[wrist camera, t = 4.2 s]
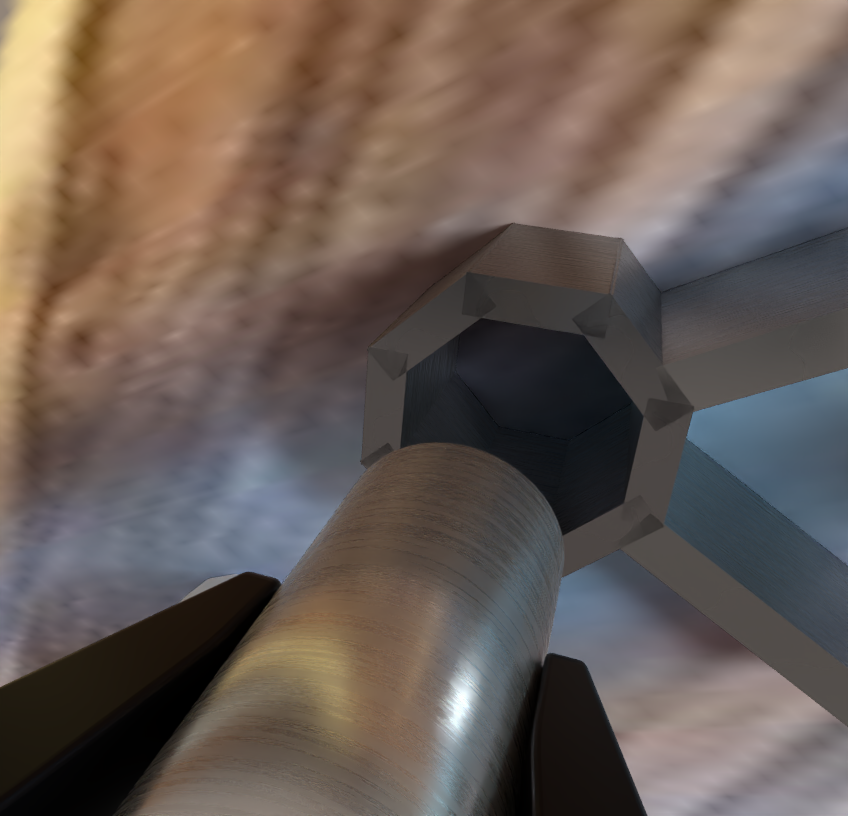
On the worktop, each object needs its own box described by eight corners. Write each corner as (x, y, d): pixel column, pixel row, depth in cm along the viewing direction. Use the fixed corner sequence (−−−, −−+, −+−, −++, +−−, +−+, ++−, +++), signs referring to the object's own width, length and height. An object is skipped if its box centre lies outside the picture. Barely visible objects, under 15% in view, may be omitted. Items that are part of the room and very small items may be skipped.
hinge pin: (585, 472, 9) (356, 1697, 2) (543, 660, 11) (315, 1826, 4) (351, 420, 10) (-393, 1272, 3) (338, 604, 11) (-204, 1510, 4)
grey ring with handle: (1161, 132, 14) (1383, 159, 10) (917, 657, 20) (993, 826, 15) (453, 61, 17) (384, 59, 13) (408, 538, 23) (348, 652, 18)
